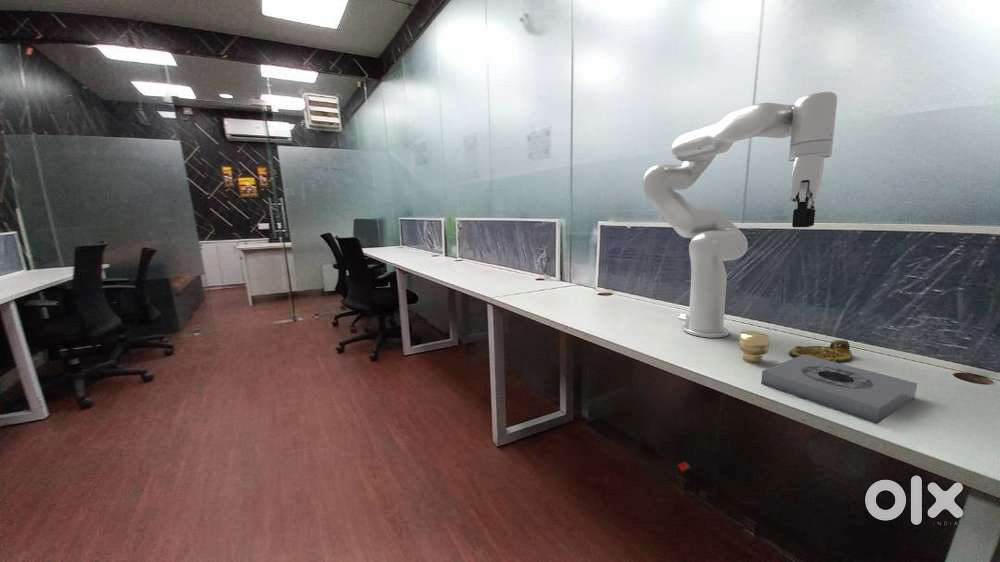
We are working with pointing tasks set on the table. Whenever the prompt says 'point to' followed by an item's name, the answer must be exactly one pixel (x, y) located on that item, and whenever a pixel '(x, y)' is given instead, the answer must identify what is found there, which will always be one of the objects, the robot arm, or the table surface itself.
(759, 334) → the gold cylinder
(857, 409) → the jig
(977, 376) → the table surface
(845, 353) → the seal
